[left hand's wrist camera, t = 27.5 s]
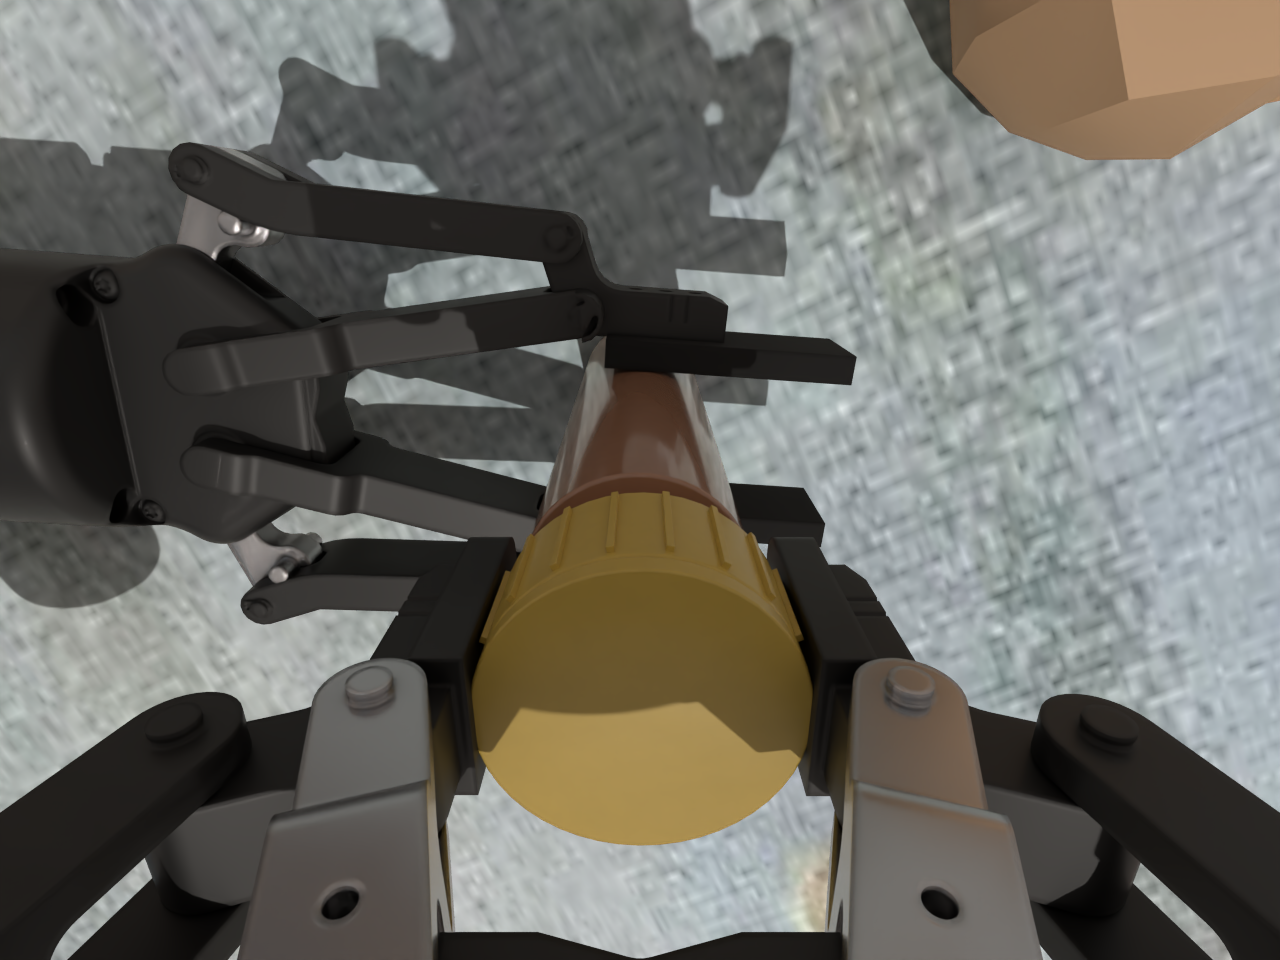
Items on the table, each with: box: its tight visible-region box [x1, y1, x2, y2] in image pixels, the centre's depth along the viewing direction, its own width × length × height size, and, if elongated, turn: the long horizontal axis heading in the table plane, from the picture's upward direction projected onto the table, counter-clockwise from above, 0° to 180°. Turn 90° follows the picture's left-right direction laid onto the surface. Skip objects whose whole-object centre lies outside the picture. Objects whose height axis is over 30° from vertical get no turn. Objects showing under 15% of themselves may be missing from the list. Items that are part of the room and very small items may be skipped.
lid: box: [471, 491, 813, 845], centre depth 10 cm, size 5×5×2 cm
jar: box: [531, 336, 744, 536], centre depth 18 cm, size 4×4×17 cm
